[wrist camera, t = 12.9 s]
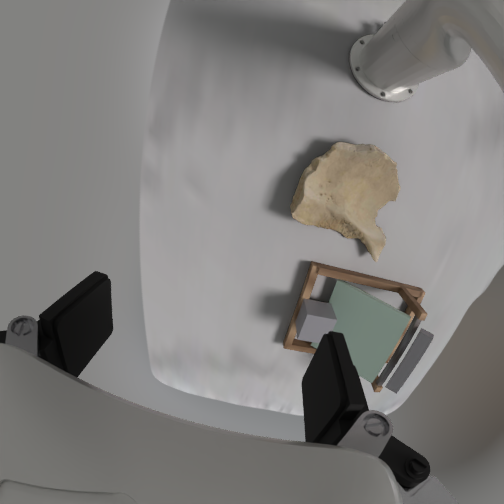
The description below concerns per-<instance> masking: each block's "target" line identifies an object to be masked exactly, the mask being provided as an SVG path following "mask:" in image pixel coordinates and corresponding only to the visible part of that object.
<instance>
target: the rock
mask: <svg viewBox="0 0 504 504" xmlns="http://www.w3.org/2000/svg"><path fill="white" fill-rule="evenodd" d="M396 166H397V163H396V162H394V161H392V159H391V158H390V157H389V156H388V155H386V153H384V152H382V151H381V150H380V149H379V148H377V147H376V146H374V145H371V144H369V145H365V144H359V145H354V144H349V143H343V142H337V143H335V144H333V145H332V147H331V148H330V150H329V151H328V152H326V153H325V154H324V155H323V156H319V157H316V158H315V159H313V160H312V162H311V164H310V165H309V166H308V167H307V168H306V169H305V170H304V172H303V174H302V175H301V178H300V180H299V183H298V186H297V189H296V191H295V195H294V196H293V200H292V203H291V205H290V209H291V214H292V217H293V218H294V219H296V220H297V221H299V222H301V223H302V224H305V225H315V226H317V227H323V228H326V229H332V230H336V231H338V232H340V233H341V234H343V235H344V237H346V238H358V239H360V240H361V242H362V243H364V245H366V248H367V250H368V252H369V253H370V254H371V256H372V258H373V260H374V261H375V262H377V260H378V258H379V255H380V253H381V251H382V249H383V247H384V246H385V241H386V237H385V235H384V233H383V231H382V228H380V227H377V226H376V225H375V217H377V211H378V210H379V209H381V208H382V207H383V206H384V205H386V203H387V202H389V201H396V198H397V195H398V193H399V191H400V185H399V182H398V176H397V169H396Z"/></svg>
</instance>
